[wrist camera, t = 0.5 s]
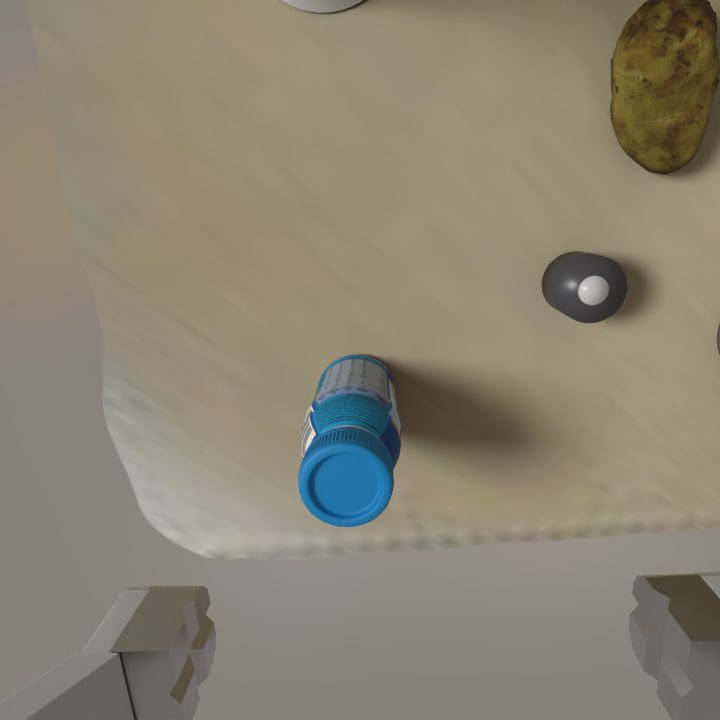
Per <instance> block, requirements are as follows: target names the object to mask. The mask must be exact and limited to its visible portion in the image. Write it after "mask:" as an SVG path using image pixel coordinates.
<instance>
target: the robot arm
mask: <svg viewBox="0 0 720 720" xmlns="http://www.w3.org/2000/svg"><path fill="white" fill-rule="evenodd" d="M282 1H283V2H285V3H287V4H289V5H291V6H293V7H295V8H298V9H301V10H305V11H310V12H317V13H327V12H335V11H340V10H343V9H347V8H349V7H352V6H354V5H356V4H358V3H360V2H361V1H363V0H282ZM632 594H633V595H634V597H635V599H636V600H637V602H638V604H639V605H638V606H637V607H636V608H635V609H634V610H633V611H632V612H631V613H630V624H629V631H630V637H631V642H632V646H633V649H634V652H635V654H636V657H637V659H638V661H639V663H640V665H641V666H642V668H643V670H644V671H645V672H647V673H648V674H650V675H651V676H652V677H654V678H655V679H656V680H658V685H657V694H658V696H659V698H660V700H661V702H662V703H663V705H664V707H665V708H666V710H667V712H668V714H669V715H670V717H671V719H672V720H720V572H709V573H693V574H675V575H642V576H637V577H636V579H635V581H634V584H633V592H632ZM209 606H210V599H209V594H208V590H207V589H206V588H205V587H204V586H154V587H129V588H127V589H125V590H124V591H123V592H122V593H121V595H120V596H119V598H118V599H117V601H116V602H115V604H114V605H113V607H112V608H111V610H110V611H109V613H108V614H107V616H106V617H105V619H104V620H103V621H102V623H101V624H100V626H99V627H98V629H97V630H96V632H95V633H94V635H93V636H92V638H91V639H90V641H89V642H88V644H87V645H86V647H85V648H84V650H83V651H82V653H81V654H72V655H70V656H69V657H67V658H66V659H64V660H63V661H61V662H60V663H58V664H57V665H55V666H54V667H52V668H51V669H49V670H48V671H46V672H45V673H44V674H42V675H40V676H39V677H37V678H36V679H34V680H33V681H31V682H30V683H28V684H27V685H25V686H24V687H22V688H21V689H20V690H18V691H16V692H15V693H14V694H12V695H11V696H9V697H7V698H6V699H4V700H3V701H1V702H0V720H192V719H193V716H194V714H195V711H196V708H197V705H198V703H199V700H200V697H199V692H198V685H200V684H201V683H202V682H203V681H204V680H205V679H206V678H207V677H208V675H209V672H210V669H211V666H212V664H213V658H214V652H215V646H216V645H215V627H214V622H213V621H212V620H211V619H210V618H209V617H208V616H207V615H206V613H207V611H208V608H209Z"/></svg>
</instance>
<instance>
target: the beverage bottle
mask: <svg viewBox="0 0 720 720" xmlns="http://www.w3.org/2000/svg"><path fill="white" fill-rule="evenodd" d="M400 437H401V424H400V419H399V415H398V413H397V408H396V388H395V383H394V380H393V377H392V375H391V373H390V372H389V370H388V369H387V368H386V367H385V366H384V365H383V364H382V363H381V362H379V361H378V360H376V359H374V358H372V357H369V356H365V355H348V356H344V357H341V358H339V359H337V360H335V361H334V362H332V363H331V364H330V365H329V366H328V367H327V368H326V369H325V371H324V372H323V374H322V376H321V378H320V381H319V384H318V389H317V391H316V394H315V397H314V400H313V402H312V404H311V405H310V407H309V409H308V411H307V413H306V417H305V421H304V427H303V430H302V434H301V452H302V456H303V461H302V464H301V467H300V471H299V475H298V476H299V477H298V479H299V481H298V483H299V492H300V496H301V498H302V501H303V502H304V504H305V506H306V507H307V509H308V510H309V511H310V512H311V513H312V514H313V515H314V516H316V517H317V518H318V519H320V520H322V521H323V522H326V523H328V524H331V525H334V526H339V527H354V526H359V525H363V524H366V523H368V522H370V521H372V520H373V519H375V518H376V517H378V516H379V515H380V514H381V513H382V512H383V511H384V509H385V508H386V506H387V505H388V503H389V501H390V498H391V495H392V491H393V487H394V485H393V483H394V478H393V469H394V467H395V465H396V463H397V461H398V458H399V454H400V448H401V440H400Z"/></svg>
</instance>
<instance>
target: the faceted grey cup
mask: <svg viewBox="0 0 720 720" xmlns="http://www.w3.org/2000/svg"><path fill="white" fill-rule="evenodd" d="M717 344H718V350H719V354H720V325H719V328H718V334H717Z"/></svg>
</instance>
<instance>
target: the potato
mask: <svg viewBox="0 0 720 720" xmlns="http://www.w3.org/2000/svg"><path fill="white" fill-rule="evenodd" d="M716 19H717V17H716V13H715V12H714V11H713V9H712V7H711V5H710V2H709V1H707V0H648V1H646V2H645V3H644V4H643V5H642V6H641V7H640V8H639V9H638V10H637V11H636V12H635V13H634V14H633V16H632V17H631V18H629V20H628V21H627V22H626V24H625V26H624V28H623V30H622V33H621V35H620V37H619V39H618V42H617V45H616V48H615V51H614V55H613V59H611V90H612V100H611V106H610V113H611V120H612V124H613V128H614V131H615V134H616V137H617V139H618V142H619V144H620V145H621V147H622V148H623V150H624V151H625V152H626V154H627V155H628V156H629V157H630V158H632V159H633V160H634V161H635V162H636V163H638V164H639V165H640V166H641V167H643V168H644V169H645V170H647V171H649V172H652V173H659V174H667V173H670V172H673V171H676V170H678V169H680V168H682V167H683V166H685V165H686V164H687V163H688V162H689V161H691V160H692V159H693V157H694V156H695V154H696V153H697V151H698V149H699V147H700V145H701V142H702V139H703V136H704V133H705V129H706V125H707V121H708V117H709V113H710V108H711V104H712V100H713V96H714V91H715V89H716V88H717V85H718V81H719V79H718V73H719V58H718V52H717V48H716V44H715V43H716V35H717V23H716Z"/></svg>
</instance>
